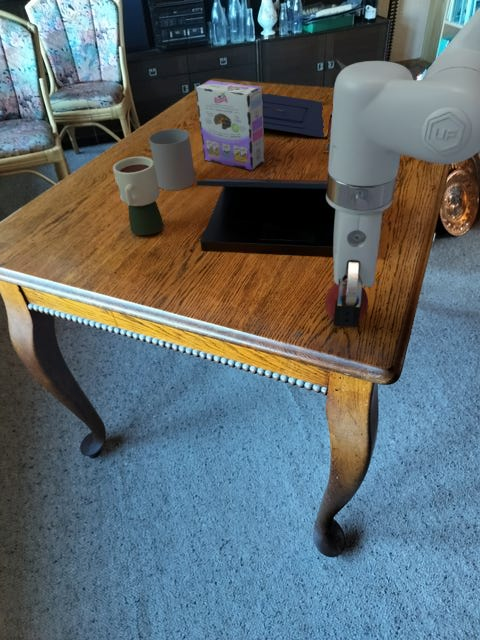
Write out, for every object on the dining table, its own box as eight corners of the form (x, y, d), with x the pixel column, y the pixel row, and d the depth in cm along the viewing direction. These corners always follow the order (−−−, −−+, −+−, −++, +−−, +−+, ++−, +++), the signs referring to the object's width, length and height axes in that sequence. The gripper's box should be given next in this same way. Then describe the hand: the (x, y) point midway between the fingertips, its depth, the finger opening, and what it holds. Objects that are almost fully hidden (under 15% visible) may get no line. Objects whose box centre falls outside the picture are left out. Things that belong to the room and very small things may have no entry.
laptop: (375, 259, 78) (377, 248, 76) (201, 250, 83) (200, 240, 81) (372, 195, 94) (373, 185, 92) (225, 191, 99) (224, 182, 97)
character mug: (138, 215, 94) (123, 151, 85) (172, 215, 93) (160, 151, 84) (121, 245, 86) (102, 179, 77) (159, 246, 85) (144, 179, 76)
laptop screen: (385, 190, 72) (386, 184, 71) (196, 186, 77) (196, 180, 76) (373, 186, 92) (373, 181, 92) (224, 182, 97) (224, 178, 97)
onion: (329, 305, 70) (333, 261, 65) (368, 313, 68) (375, 269, 63) (319, 330, 66) (322, 286, 61) (359, 340, 64) (366, 295, 59)
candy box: (265, 161, 108) (263, 85, 97) (252, 171, 105) (248, 94, 94) (217, 151, 114) (210, 78, 103) (203, 160, 111) (194, 86, 100)
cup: (176, 194, 99) (169, 147, 92) (149, 184, 103) (140, 139, 96) (202, 178, 104) (197, 133, 97) (175, 170, 108) (168, 126, 101)
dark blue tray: (233, 99, 138) (234, 86, 135) (334, 114, 134) (337, 101, 131) (210, 131, 121) (210, 116, 118) (325, 149, 117) (327, 134, 114)
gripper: (400, 228, 46) (376, 349, 58) (390, 154, 58) (371, 266, 70) (323, 225, 47) (314, 343, 59) (329, 153, 60) (321, 263, 71)
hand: (345, 301), depth 65 cm, fingers open, 9 cm apart
